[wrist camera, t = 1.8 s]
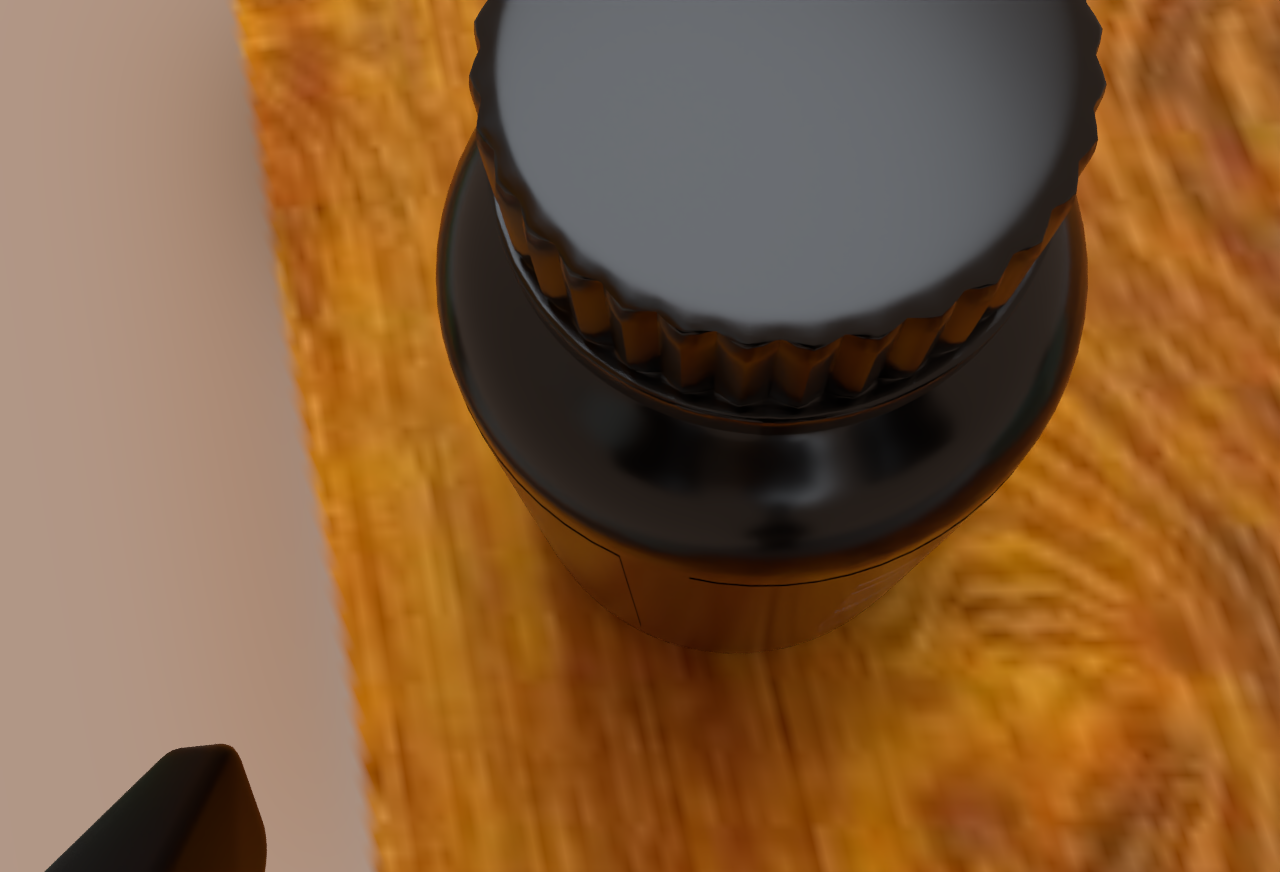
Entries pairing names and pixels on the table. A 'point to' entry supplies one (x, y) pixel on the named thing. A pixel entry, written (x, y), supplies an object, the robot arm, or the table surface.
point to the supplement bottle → (766, 287)
